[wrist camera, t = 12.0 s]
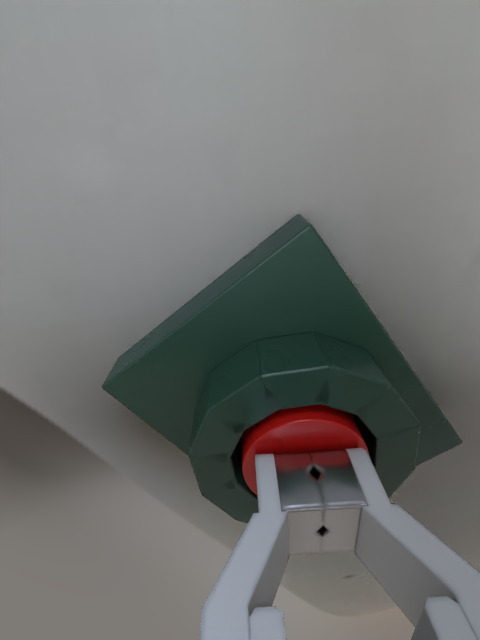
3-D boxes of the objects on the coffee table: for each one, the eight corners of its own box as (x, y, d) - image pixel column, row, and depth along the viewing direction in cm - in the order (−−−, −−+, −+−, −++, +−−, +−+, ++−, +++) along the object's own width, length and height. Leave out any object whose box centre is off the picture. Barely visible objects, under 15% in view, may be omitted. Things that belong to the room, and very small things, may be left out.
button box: (437, 410, 13) (501, 489, 10) (278, 493, 15) (290, 579, 12) (298, 212, 10) (330, 239, 6) (117, 358, 12) (75, 430, 9)
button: (369, 427, 11) (392, 472, 9) (283, 474, 12) (290, 523, 10) (310, 358, 10) (325, 397, 8) (218, 418, 11) (215, 463, 9)
